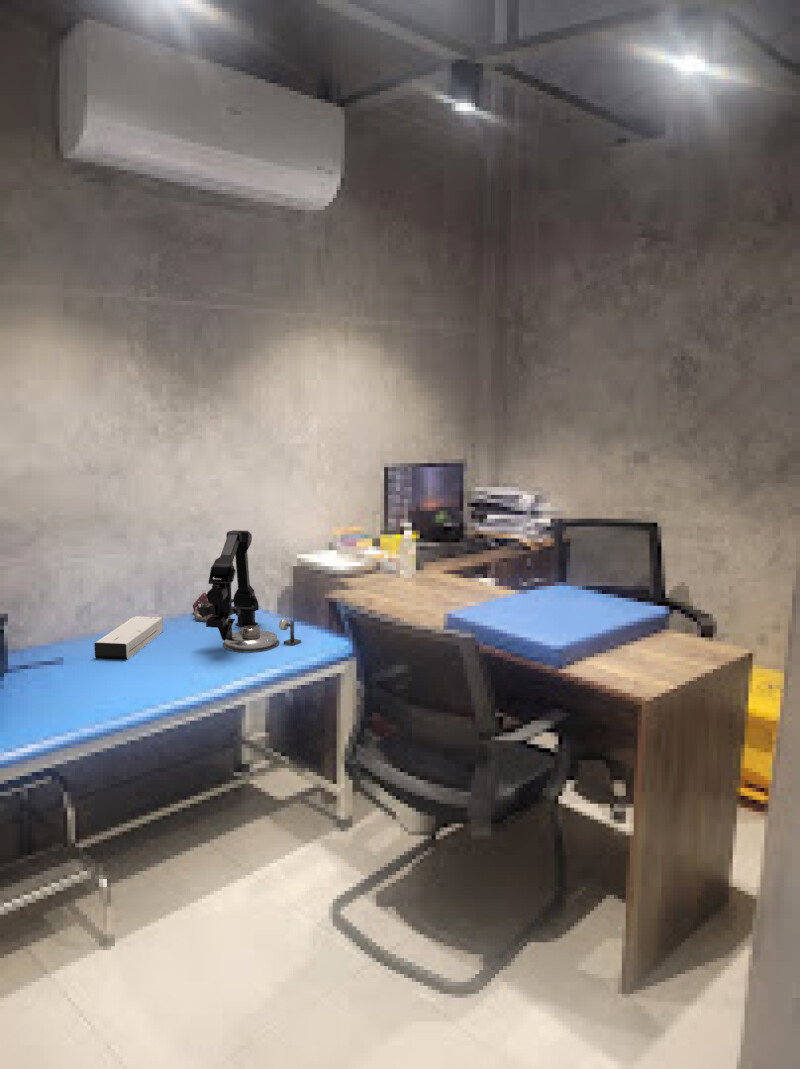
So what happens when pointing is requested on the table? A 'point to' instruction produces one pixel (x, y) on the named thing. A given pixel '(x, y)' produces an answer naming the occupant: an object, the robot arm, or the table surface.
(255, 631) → the cover
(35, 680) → the table surface
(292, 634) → the stand
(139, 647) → the laminator
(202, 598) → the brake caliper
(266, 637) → the turntable
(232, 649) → the turntable base
